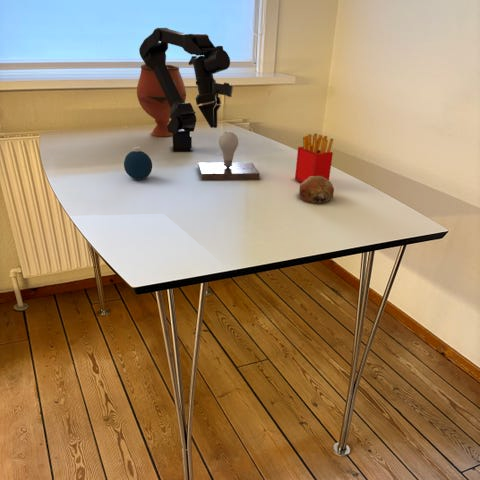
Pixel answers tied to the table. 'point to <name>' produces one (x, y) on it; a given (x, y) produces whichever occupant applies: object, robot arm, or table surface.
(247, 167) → the walnut board
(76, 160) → the table surface
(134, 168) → the christmas ornament
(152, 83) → the goblet
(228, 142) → the lightbulb
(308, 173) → the french fries container
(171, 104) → the robot arm
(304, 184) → the bread roll
